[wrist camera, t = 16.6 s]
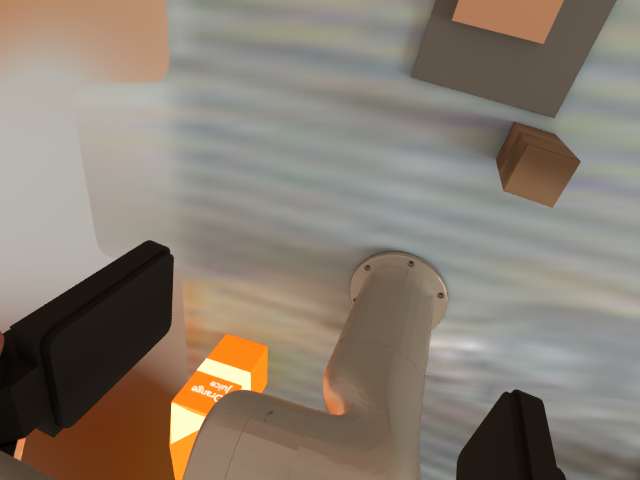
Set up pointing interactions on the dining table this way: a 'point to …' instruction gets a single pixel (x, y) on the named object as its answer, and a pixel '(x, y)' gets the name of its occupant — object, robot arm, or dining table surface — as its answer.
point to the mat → (511, 56)
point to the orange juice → (213, 391)
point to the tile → (510, 16)
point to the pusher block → (535, 164)
